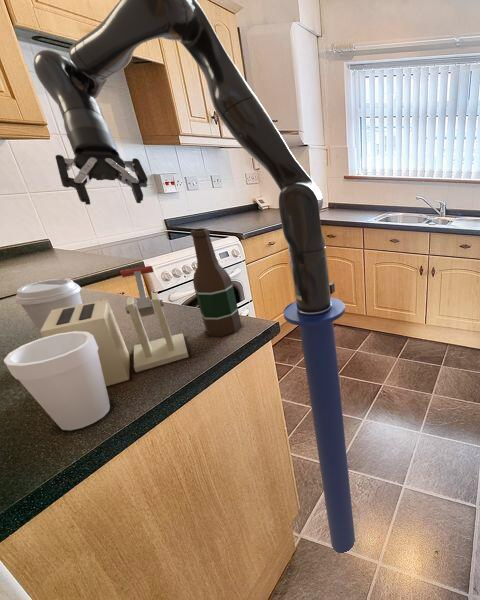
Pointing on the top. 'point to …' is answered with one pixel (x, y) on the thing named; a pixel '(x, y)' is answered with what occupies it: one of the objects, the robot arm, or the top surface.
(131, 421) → the top surface
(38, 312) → the coffee cup
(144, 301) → the lever
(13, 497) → the top surface
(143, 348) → the lever bracket
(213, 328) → the beer bottle
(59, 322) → the toaster
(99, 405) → the foam cup
